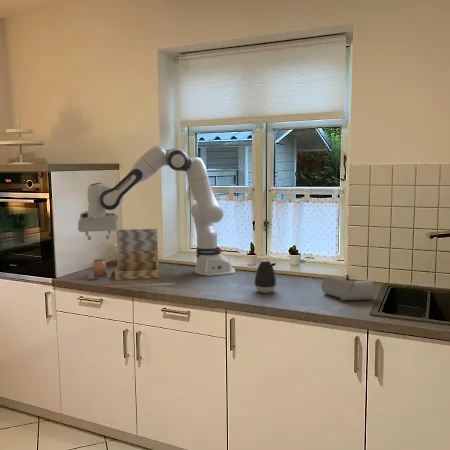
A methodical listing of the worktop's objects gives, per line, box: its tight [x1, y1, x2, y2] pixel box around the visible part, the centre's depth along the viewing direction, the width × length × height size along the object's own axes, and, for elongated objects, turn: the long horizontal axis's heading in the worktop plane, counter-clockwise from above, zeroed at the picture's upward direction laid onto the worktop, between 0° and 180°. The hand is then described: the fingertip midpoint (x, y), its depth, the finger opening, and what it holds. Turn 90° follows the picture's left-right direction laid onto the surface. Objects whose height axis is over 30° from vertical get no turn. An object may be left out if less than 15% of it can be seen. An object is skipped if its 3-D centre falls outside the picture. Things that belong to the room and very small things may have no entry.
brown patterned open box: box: [114, 228, 159, 281], centre depth 253 cm, size 22×20×24 cm
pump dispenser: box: [254, 259, 277, 294], centre depth 222 cm, size 10×10×15 cm
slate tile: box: [86, 270, 113, 281], centre depth 254 cm, size 12×14×1 cm
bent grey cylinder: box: [321, 275, 375, 302], centre depth 213 cm, size 18×11×20 cm
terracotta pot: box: [93, 258, 107, 276], centre depth 253 cm, size 6×6×8 cm
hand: (98, 239), depth 251 cm, fingers open, 8 cm apart
